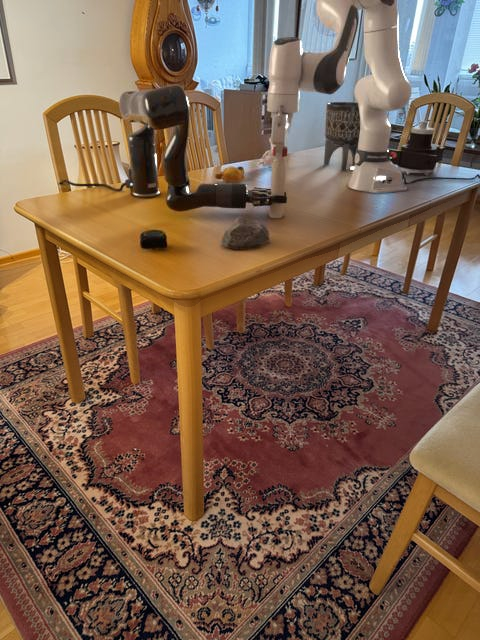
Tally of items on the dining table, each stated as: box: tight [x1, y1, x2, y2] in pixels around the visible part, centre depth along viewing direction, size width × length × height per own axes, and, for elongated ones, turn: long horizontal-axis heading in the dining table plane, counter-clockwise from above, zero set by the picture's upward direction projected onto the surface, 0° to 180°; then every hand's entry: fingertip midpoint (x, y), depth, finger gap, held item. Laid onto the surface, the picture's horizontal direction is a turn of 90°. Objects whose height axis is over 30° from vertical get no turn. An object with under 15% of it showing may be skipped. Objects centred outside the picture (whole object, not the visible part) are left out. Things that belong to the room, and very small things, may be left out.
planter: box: [323, 101, 360, 172], centre depth 204 cm, size 20×20×26 cm
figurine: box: [258, 136, 276, 169], centre depth 203 cm, size 8×15×13 cm, turn 146°
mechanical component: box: [388, 120, 446, 176], centre depth 202 cm, size 22×21×30 cm
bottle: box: [268, 156, 287, 219], centre depth 138 cm, size 4×4×20 cm
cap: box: [273, 145, 289, 158], centre depth 134 cm, size 4×4×2 cm
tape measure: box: [139, 229, 168, 250], centre depth 117 cm, size 7×7×4 cm
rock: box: [221, 216, 270, 250], centre depth 119 cm, size 13×9×6 cm, turn 131°
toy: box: [214, 165, 246, 183], centre depth 181 cm, size 11×6×15 cm
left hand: (285, 197), depth 140 cm, fingers closed on bottle, 4 cm apart
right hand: (279, 156), depth 134 cm, fingers closed on cap, 4 cm apart
